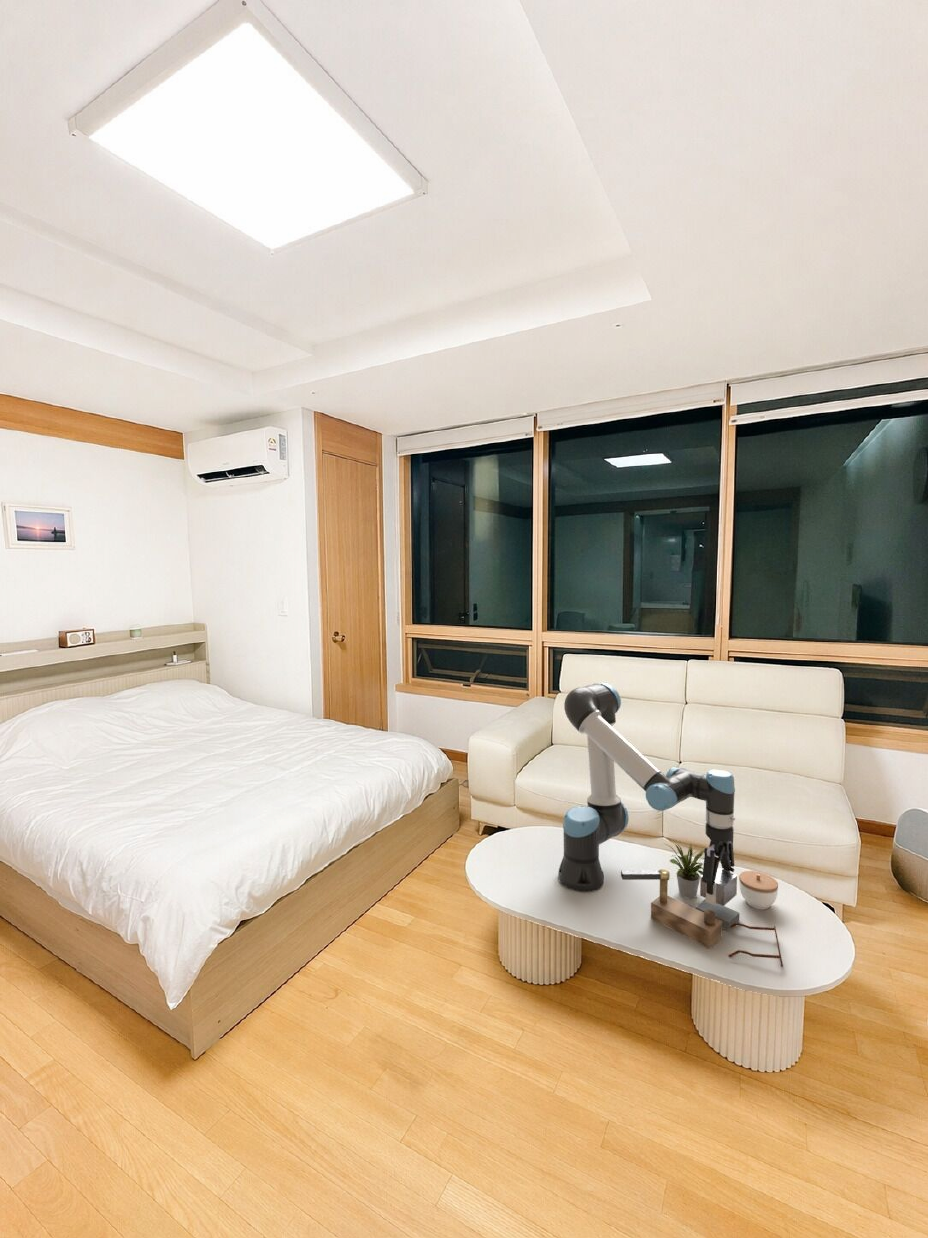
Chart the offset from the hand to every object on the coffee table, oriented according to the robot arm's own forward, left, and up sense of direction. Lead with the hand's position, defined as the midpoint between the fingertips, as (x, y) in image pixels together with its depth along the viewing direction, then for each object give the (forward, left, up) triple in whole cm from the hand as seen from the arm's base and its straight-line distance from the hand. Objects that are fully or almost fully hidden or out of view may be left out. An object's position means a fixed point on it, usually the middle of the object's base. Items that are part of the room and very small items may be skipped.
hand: (718, 897), depth 165 cm
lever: (-15, -16, +6) cm, 22 cm away
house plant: (-13, +4, -7) cm, 15 cm away
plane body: (-4, -12, -7) cm, 14 cm away
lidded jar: (+5, +16, -7) cm, 19 cm away
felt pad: (0, 0, -7) cm, 7 cm away
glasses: (+12, -6, -7) cm, 15 cm away
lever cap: (0, 0, +1) cm, 1 cm away
